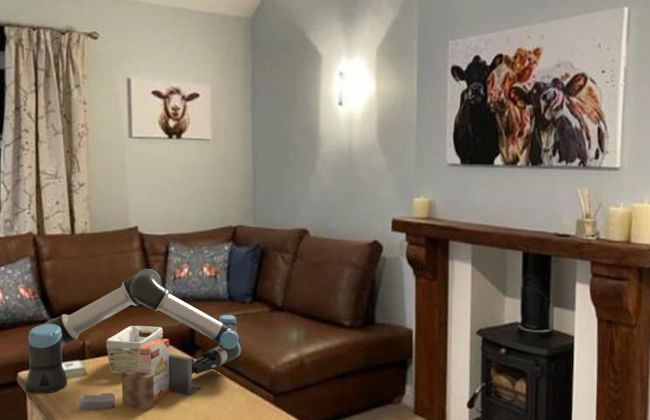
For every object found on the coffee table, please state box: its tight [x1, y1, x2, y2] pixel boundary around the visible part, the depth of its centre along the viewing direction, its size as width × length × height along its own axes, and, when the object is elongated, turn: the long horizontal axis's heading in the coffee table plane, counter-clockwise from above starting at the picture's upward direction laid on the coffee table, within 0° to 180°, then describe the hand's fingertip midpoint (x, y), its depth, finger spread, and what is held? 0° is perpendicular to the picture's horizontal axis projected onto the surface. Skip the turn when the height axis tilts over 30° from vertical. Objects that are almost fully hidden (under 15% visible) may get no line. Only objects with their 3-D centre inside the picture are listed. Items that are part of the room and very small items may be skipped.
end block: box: [121, 370, 155, 411], centre depth 231 cm, size 12×3×12 cm, turn 64°
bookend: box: [168, 353, 203, 397], centre depth 247 cm, size 14×8×14 cm, turn 64°
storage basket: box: [105, 325, 164, 375], centre depth 274 cm, size 24×16×15 cm
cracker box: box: [138, 338, 170, 403], centre depth 239 cm, size 14×6×21 cm, turn 166°
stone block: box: [79, 392, 116, 411], centre depth 232 cm, size 12×5×10 cm
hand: (177, 375), depth 246 cm, fingers closed
